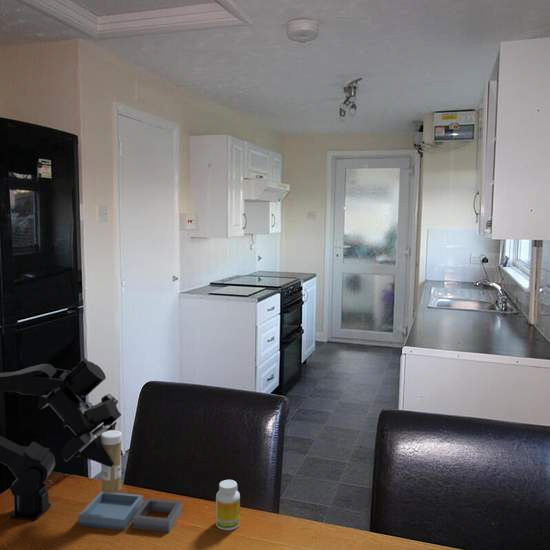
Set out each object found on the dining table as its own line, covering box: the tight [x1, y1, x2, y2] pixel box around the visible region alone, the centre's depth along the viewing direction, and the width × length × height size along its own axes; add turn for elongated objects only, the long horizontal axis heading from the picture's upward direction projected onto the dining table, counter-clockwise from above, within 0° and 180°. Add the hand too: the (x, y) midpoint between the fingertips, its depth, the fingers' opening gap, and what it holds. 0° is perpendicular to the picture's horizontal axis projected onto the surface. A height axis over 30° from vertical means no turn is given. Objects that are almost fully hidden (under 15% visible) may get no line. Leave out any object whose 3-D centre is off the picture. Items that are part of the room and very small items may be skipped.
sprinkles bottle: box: [100, 429, 123, 494], centre depth 122 cm, size 5×5×14 cm
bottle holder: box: [132, 497, 183, 533], centre depth 121 cm, size 8×8×2 cm
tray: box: [78, 491, 144, 531], centre depth 123 cm, size 11×11×2 cm
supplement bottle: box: [215, 479, 241, 531], centre depth 120 cm, size 5×5×10 cm
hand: (117, 460), depth 121 cm, fingers closed on sprinkles bottle, 4 cm apart
